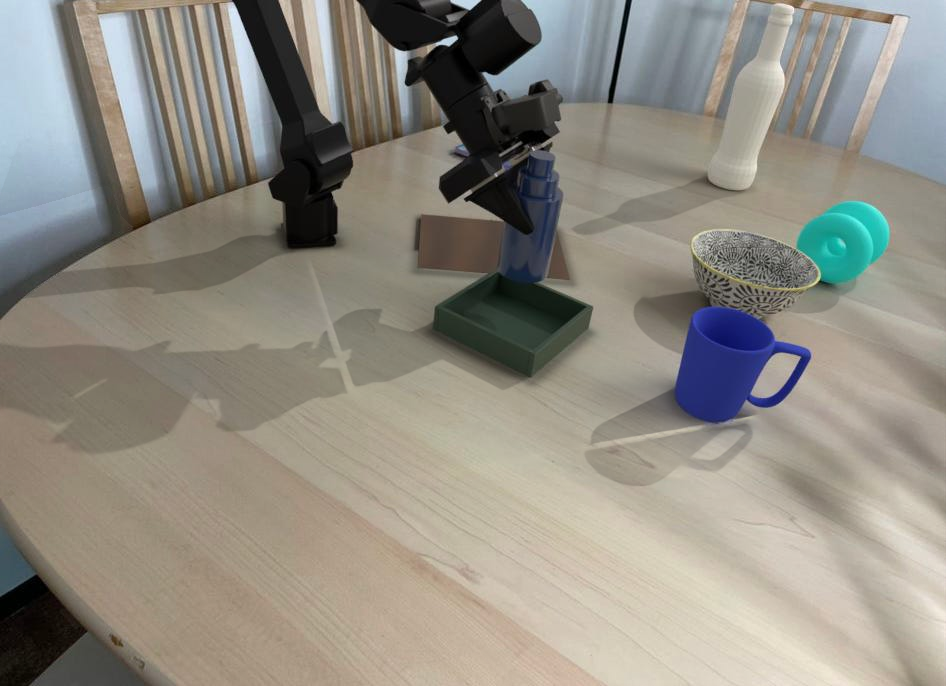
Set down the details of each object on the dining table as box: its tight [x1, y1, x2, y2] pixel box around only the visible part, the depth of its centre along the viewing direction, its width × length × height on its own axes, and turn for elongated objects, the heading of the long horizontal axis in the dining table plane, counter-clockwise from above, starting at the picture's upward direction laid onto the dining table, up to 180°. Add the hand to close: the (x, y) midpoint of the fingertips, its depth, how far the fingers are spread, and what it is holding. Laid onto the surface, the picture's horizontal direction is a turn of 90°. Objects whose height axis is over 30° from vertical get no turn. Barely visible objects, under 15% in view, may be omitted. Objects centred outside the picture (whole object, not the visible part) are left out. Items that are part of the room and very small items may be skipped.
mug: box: [674, 306, 812, 424], centre depth 76 cm, size 8×12×10 cm
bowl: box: [689, 228, 821, 320], centre depth 95 cm, size 16×16×8 cm
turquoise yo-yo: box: [795, 200, 890, 284], centre depth 106 cm, size 10×10×10 cm
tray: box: [432, 268, 594, 378], centre depth 86 cm, size 13×13×4 cm
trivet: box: [417, 213, 571, 281], centre depth 103 cm, size 20×16×1 cm
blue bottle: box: [497, 150, 564, 283], centre depth 83 cm, size 6×6×14 cm
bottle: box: [707, 2, 795, 192], centre depth 126 cm, size 8×8×30 cm
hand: (542, 223), depth 83 cm, fingers closed on blue bottle, 6 cm apart
